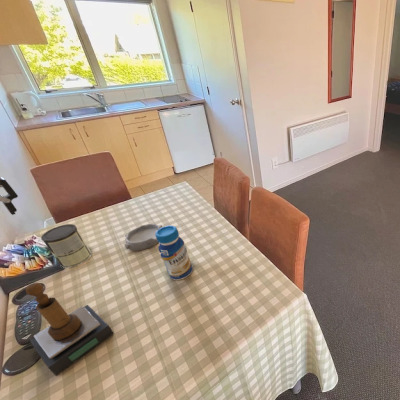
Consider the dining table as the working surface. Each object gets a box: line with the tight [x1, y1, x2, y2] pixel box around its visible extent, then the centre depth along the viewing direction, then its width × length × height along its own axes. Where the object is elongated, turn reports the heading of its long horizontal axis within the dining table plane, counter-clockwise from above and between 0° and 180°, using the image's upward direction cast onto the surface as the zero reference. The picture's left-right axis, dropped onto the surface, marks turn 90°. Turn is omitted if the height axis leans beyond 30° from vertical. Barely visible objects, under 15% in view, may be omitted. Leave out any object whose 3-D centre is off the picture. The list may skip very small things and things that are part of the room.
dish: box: [124, 223, 163, 252], centre depth 117 cm, size 14×14×5 cm
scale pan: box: [33, 305, 101, 359], centre depth 76 cm, size 12×12×1 cm
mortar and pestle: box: [25, 282, 81, 340], centre depth 71 cm, size 7×6×18 cm
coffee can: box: [40, 223, 93, 269], centre depth 105 cm, size 10×10×14 cm
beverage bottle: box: [155, 225, 194, 281], centre depth 97 cm, size 8×8×20 cm
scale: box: [29, 304, 115, 377], centre depth 77 cm, size 14×14×5 cm
